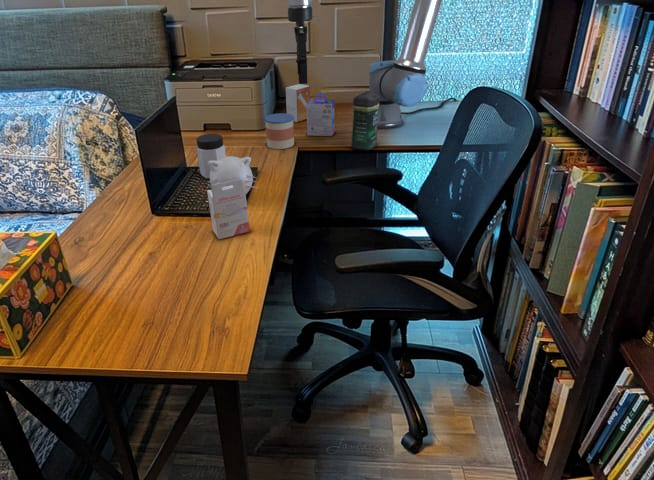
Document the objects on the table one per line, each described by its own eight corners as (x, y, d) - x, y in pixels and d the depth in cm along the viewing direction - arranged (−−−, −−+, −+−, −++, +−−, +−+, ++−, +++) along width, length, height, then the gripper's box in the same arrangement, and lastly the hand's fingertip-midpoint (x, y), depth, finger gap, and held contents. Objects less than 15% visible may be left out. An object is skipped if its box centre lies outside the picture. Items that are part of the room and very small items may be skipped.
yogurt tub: (286, 137, 188) (285, 111, 183) (300, 145, 180) (299, 118, 175) (261, 143, 184) (259, 116, 179) (274, 151, 177) (273, 123, 171)
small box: (297, 122, 203) (296, 89, 196) (286, 119, 207) (285, 87, 200) (311, 117, 208) (310, 85, 201) (300, 115, 212) (299, 83, 205)
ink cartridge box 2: (334, 132, 191) (334, 93, 183) (332, 136, 187) (333, 97, 179) (309, 131, 193) (308, 93, 185) (306, 136, 189) (305, 97, 181)
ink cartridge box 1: (243, 224, 132) (238, 171, 124) (250, 232, 128) (244, 178, 120) (212, 231, 129) (204, 178, 121) (218, 240, 125) (210, 185, 117)
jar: (229, 168, 165) (225, 132, 158) (226, 178, 158) (222, 141, 151) (202, 169, 165) (197, 133, 159) (198, 179, 158) (192, 142, 152)
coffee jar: (369, 152, 171) (372, 97, 161) (348, 149, 175) (349, 95, 165) (380, 144, 178) (383, 90, 168) (359, 141, 182) (361, 88, 171)
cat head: (256, 185, 152) (252, 146, 146) (261, 203, 141) (258, 162, 135) (206, 191, 150) (201, 152, 144) (208, 209, 140) (202, 168, 133)
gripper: (287, 2, 163) (290, 71, 175) (288, 12, 142) (291, 88, 154) (310, 1, 163) (311, 69, 175) (314, 10, 142) (316, 87, 154)
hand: (302, 78), depth 164 cm, fingers open, 13 cm apart
